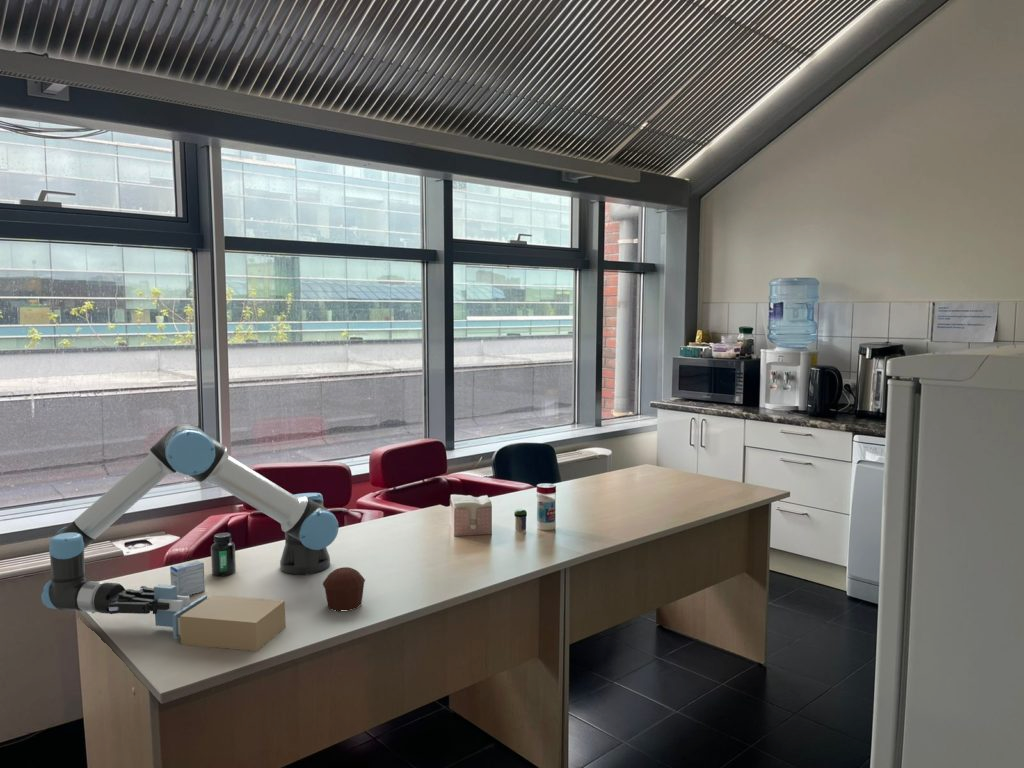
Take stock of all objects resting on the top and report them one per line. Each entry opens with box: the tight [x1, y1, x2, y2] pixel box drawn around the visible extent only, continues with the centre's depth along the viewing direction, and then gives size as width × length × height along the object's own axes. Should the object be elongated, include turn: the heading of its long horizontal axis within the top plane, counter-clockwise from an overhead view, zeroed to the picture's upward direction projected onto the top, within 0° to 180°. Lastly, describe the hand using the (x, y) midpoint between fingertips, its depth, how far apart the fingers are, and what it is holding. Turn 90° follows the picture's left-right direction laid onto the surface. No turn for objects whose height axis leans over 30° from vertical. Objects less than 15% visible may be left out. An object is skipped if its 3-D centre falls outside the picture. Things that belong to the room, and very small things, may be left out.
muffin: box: [322, 566, 366, 612], centre depth 209 cm, size 12×11×10 cm
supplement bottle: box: [210, 532, 237, 577], centre depth 234 cm, size 7×7×12 cm
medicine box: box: [169, 559, 206, 596], centre depth 217 cm, size 8×4×9 cm, turn 141°
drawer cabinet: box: [180, 594, 287, 652], centre depth 189 cm, size 20×14×7 cm
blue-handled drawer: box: [153, 584, 208, 639], centre depth 191 cm, size 29×13×10 cm, turn 79°
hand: (185, 604), depth 192 cm, fingers closed on blue-handled drawer, 2 cm apart
